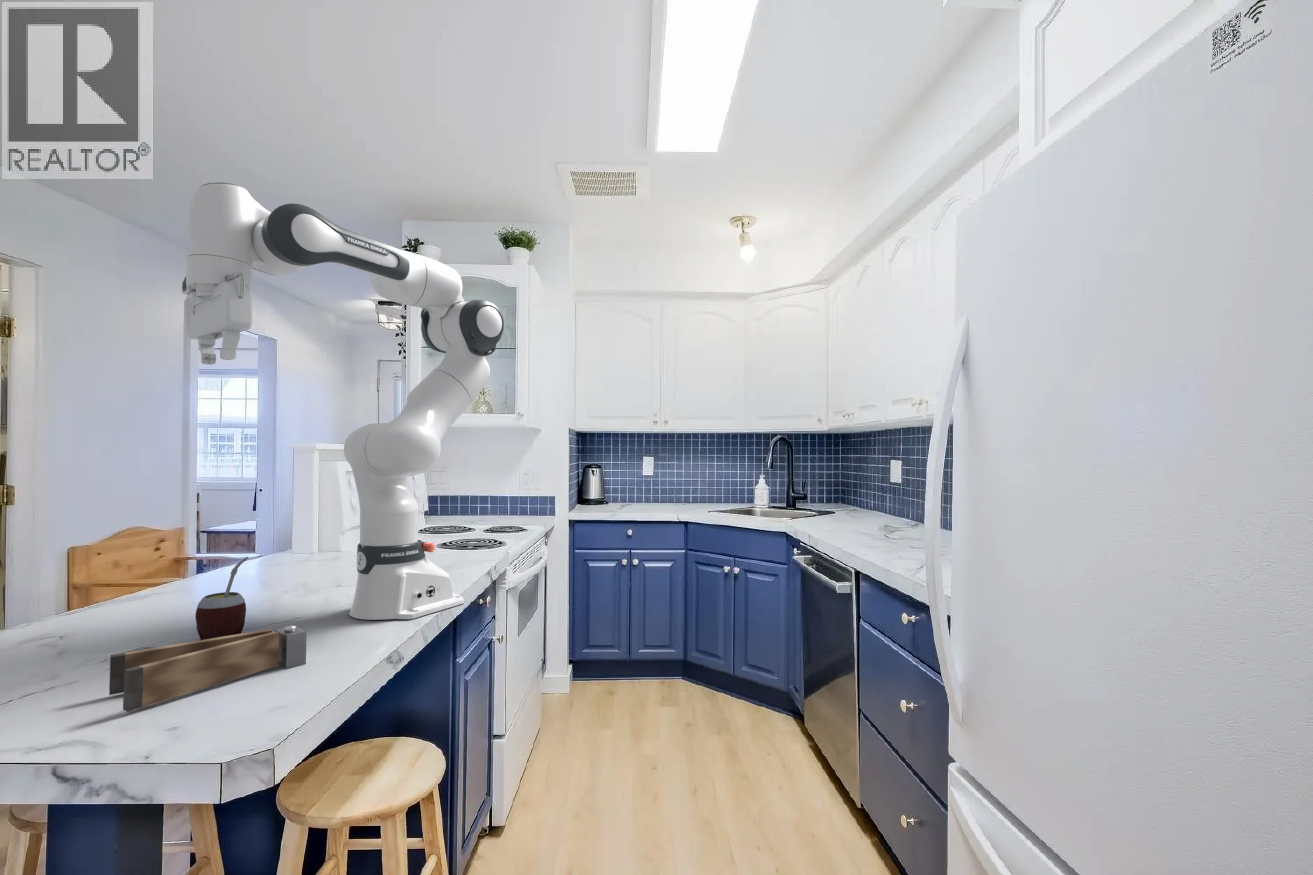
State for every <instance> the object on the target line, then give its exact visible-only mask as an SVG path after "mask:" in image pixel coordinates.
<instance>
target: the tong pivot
mask: <svg viewBox="0 0 1313 875" xmlns="http://www.w3.org/2000/svg"><path fill="white" fill-rule="evenodd" d="M273 632H278V633H279V657H278V666H280V667H282V668H284V669H287V670H288V669H291V668H296V667H299V666H302V665H306V663H307V631H306V630H303V629H301V628H299V627H297V625H294V624H291V625H287V626H286V625H285V626H284V627H281V628H277V629H274V630H273Z"/></svg>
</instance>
